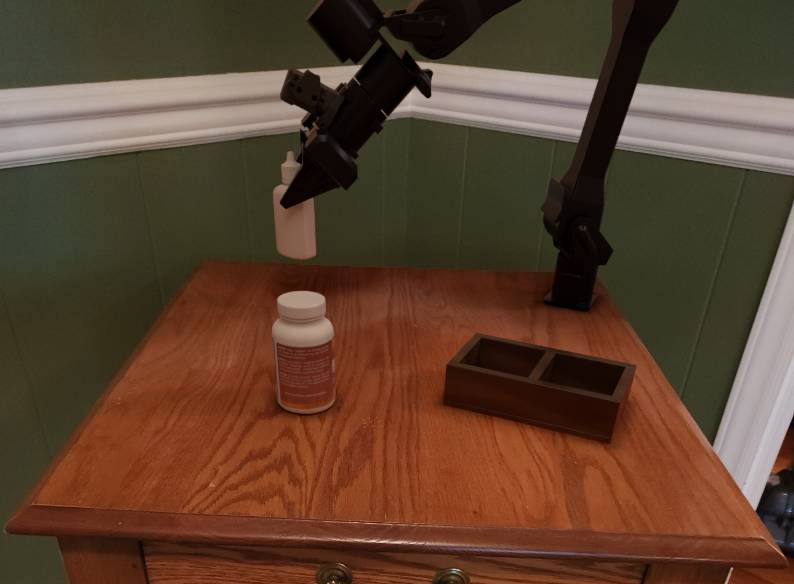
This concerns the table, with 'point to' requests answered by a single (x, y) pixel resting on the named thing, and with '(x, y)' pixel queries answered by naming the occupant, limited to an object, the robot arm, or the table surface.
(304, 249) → the eye dropper bottle
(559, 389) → the box
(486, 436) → the table surface
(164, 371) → the table surface
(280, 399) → the pill bottle
